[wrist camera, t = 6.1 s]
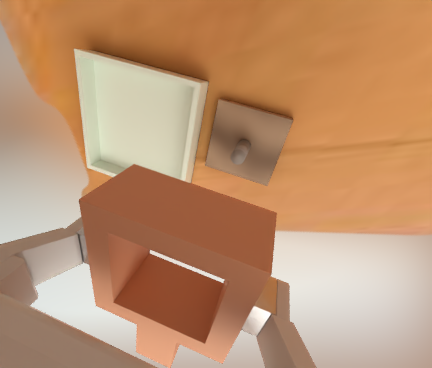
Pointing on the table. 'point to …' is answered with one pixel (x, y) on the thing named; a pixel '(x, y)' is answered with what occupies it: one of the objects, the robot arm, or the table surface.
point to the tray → (138, 115)
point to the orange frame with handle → (179, 250)
